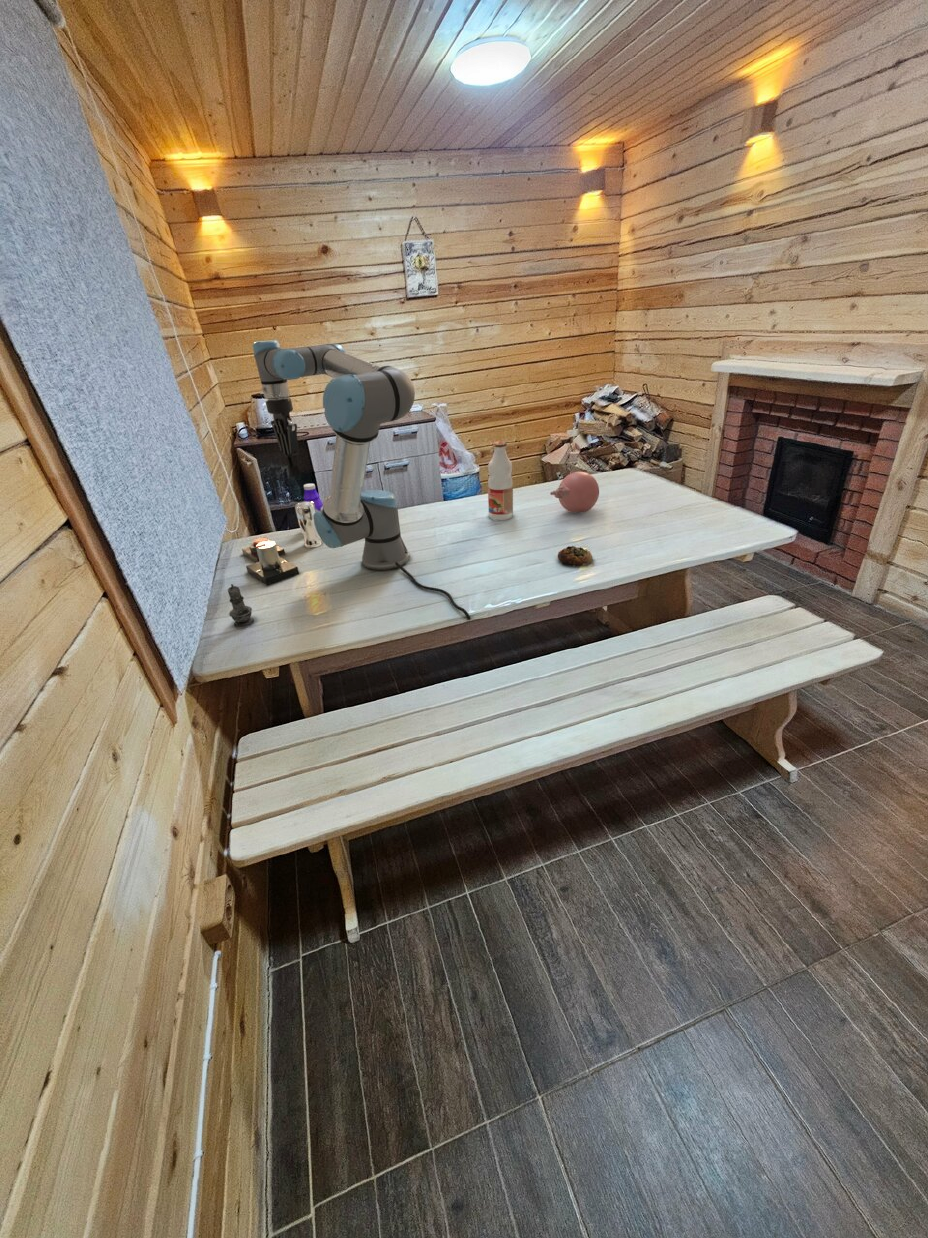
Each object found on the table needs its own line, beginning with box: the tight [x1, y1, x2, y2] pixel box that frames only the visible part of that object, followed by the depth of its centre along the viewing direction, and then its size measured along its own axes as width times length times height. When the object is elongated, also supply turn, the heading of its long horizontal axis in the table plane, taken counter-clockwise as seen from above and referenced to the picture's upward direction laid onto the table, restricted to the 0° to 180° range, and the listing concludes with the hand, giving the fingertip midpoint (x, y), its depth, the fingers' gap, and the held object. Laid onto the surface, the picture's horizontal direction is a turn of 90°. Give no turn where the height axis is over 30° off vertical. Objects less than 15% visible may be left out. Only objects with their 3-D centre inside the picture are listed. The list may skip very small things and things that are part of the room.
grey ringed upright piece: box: [227, 583, 255, 629], centre depth 139 cm, size 6×6×12 cm
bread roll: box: [557, 545, 593, 567], centre depth 165 cm, size 11×11×5 cm
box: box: [241, 538, 286, 563], centre depth 181 cm, size 12×10×4 cm
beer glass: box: [294, 501, 323, 549], centre depth 184 cm, size 7×7×15 cm
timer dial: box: [256, 540, 281, 570], centre depth 165 cm, size 6×6×8 cm
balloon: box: [550, 471, 600, 514], centre depth 197 cm, size 15×20×15 cm
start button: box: [252, 536, 269, 547], centre depth 180 cm, size 5×5×2 cm
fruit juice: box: [487, 440, 514, 521], centre depth 195 cm, size 9×9×28 cm
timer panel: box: [245, 556, 300, 587], centre depth 168 cm, size 14×11×3 cm
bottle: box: [303, 483, 324, 512], centre depth 196 cm, size 7×6×17 cm
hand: (295, 475), depth 169 cm, fingers closed
